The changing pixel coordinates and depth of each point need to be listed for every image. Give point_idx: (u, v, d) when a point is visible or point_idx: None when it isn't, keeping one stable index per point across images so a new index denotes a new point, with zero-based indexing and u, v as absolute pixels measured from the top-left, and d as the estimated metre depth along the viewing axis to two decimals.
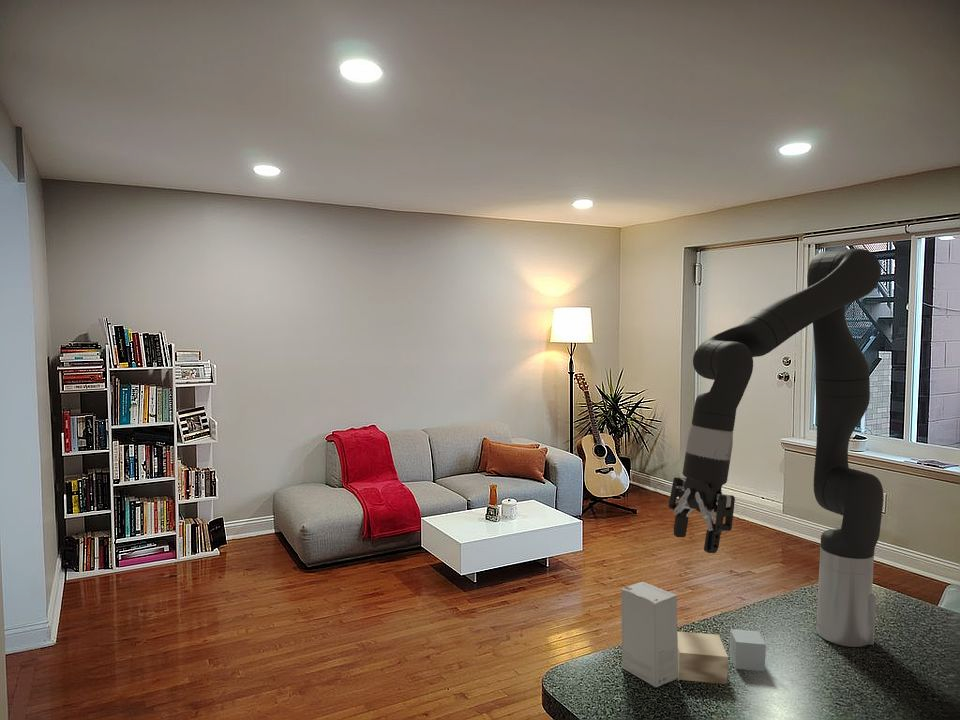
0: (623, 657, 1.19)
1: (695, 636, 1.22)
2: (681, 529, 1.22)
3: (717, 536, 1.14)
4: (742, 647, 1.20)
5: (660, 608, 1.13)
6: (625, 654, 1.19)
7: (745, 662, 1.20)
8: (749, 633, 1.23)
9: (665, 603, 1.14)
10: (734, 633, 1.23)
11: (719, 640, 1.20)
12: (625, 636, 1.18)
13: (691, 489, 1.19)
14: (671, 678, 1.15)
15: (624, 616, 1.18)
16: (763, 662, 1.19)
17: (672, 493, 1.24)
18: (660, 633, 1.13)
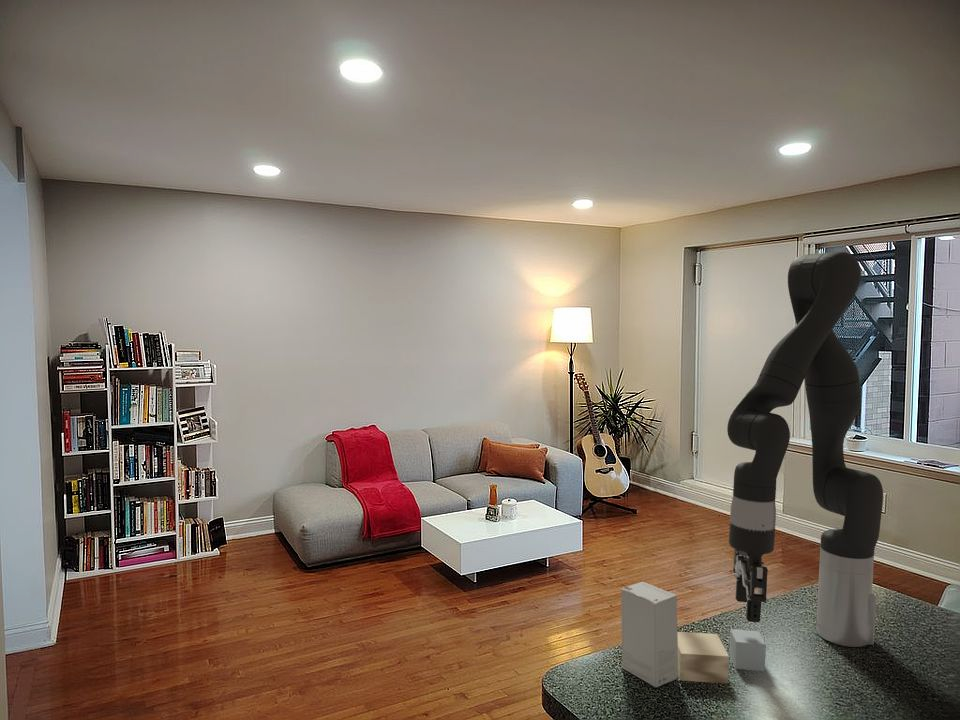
0: (623, 657, 1.19)
1: (694, 636, 1.22)
2: (742, 594, 1.25)
3: (756, 606, 1.16)
4: (742, 647, 1.20)
5: (660, 608, 1.13)
6: (625, 654, 1.19)
7: (745, 662, 1.20)
8: (749, 633, 1.23)
9: (665, 603, 1.14)
10: (734, 633, 1.23)
11: (718, 639, 1.21)
12: (625, 636, 1.18)
13: (739, 556, 1.22)
14: (671, 678, 1.15)
15: (624, 616, 1.18)
16: (763, 662, 1.19)
17: (734, 557, 1.27)
18: (660, 633, 1.13)
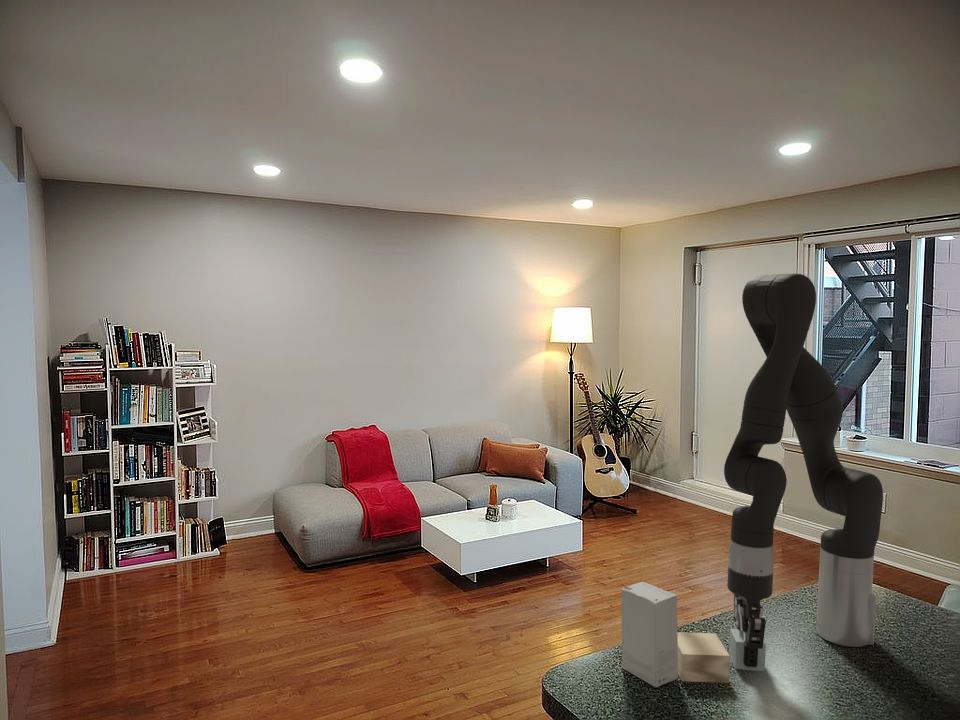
0: (623, 657, 1.19)
1: (693, 636, 1.22)
2: None
3: (753, 651, 1.18)
4: (742, 646, 1.20)
5: (660, 608, 1.13)
6: (625, 654, 1.19)
7: None
8: None
9: (665, 603, 1.14)
10: (734, 632, 1.23)
11: (717, 639, 1.21)
12: (625, 636, 1.18)
13: (738, 599, 1.23)
14: (671, 678, 1.15)
15: (624, 616, 1.18)
16: (763, 662, 1.19)
17: (734, 605, 1.27)
18: (660, 633, 1.13)
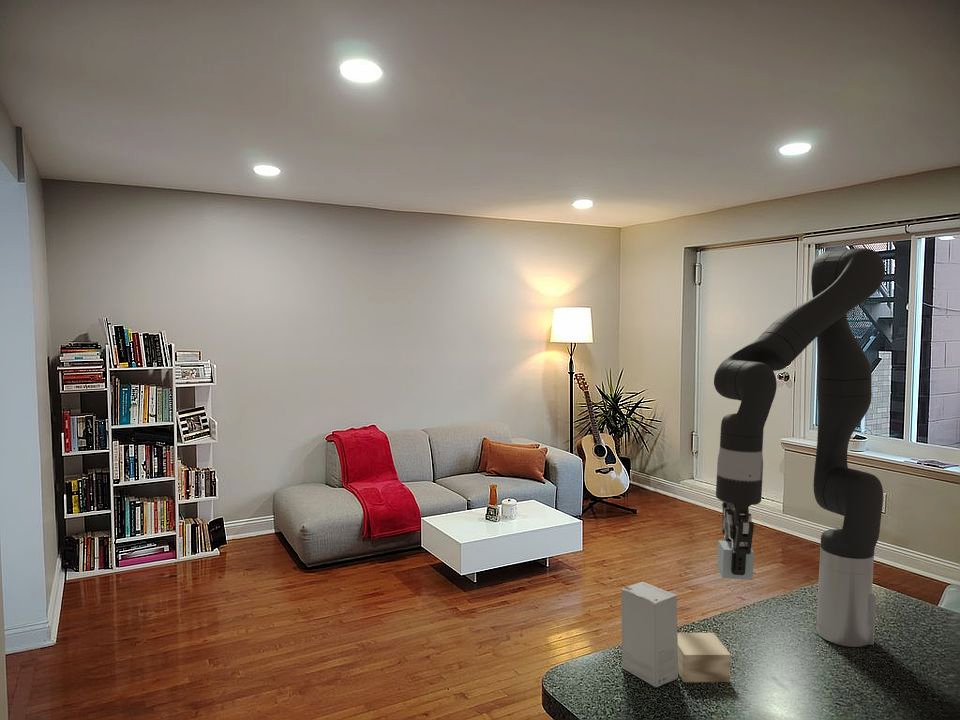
0: (623, 657, 1.19)
1: (693, 636, 1.22)
2: None
3: (741, 558, 1.16)
4: (730, 554, 1.17)
5: (660, 608, 1.13)
6: (625, 654, 1.19)
7: None
8: None
9: (665, 603, 1.14)
10: (722, 543, 1.21)
11: (716, 638, 1.21)
12: (625, 636, 1.18)
13: (726, 508, 1.21)
14: (671, 678, 1.15)
15: (624, 616, 1.18)
16: (751, 570, 1.17)
17: (723, 518, 1.25)
18: (660, 633, 1.13)
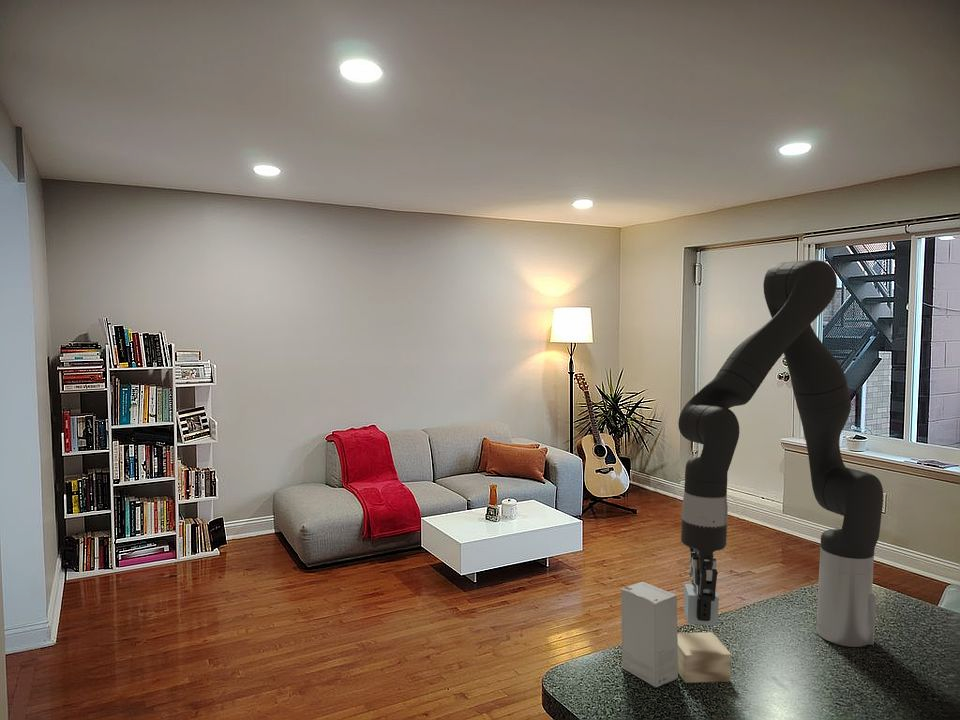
0: (623, 657, 1.19)
1: (692, 636, 1.22)
2: None
3: (706, 605, 1.15)
4: (695, 600, 1.16)
5: (660, 608, 1.13)
6: (625, 654, 1.19)
7: None
8: None
9: (665, 603, 1.14)
10: (687, 587, 1.20)
11: (715, 638, 1.21)
12: (625, 636, 1.18)
13: (692, 552, 1.19)
14: (671, 678, 1.15)
15: (624, 616, 1.18)
16: (716, 616, 1.16)
17: None
18: (660, 633, 1.13)
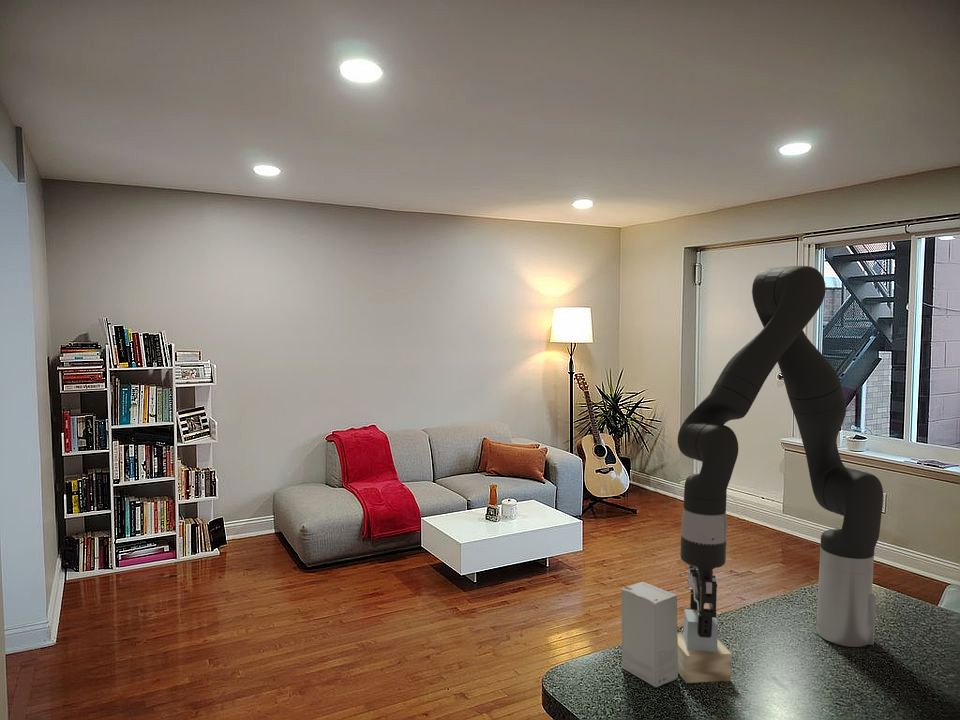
0: (623, 657, 1.19)
1: None
2: (697, 607, 1.23)
3: (707, 621, 1.14)
4: (694, 626, 1.17)
5: (660, 608, 1.13)
6: (625, 654, 1.19)
7: (697, 642, 1.17)
8: None
9: (665, 603, 1.14)
10: (687, 613, 1.20)
11: None
12: (625, 636, 1.18)
13: (692, 570, 1.19)
14: (671, 678, 1.15)
15: (624, 616, 1.18)
16: (715, 642, 1.16)
17: None
18: (660, 633, 1.13)
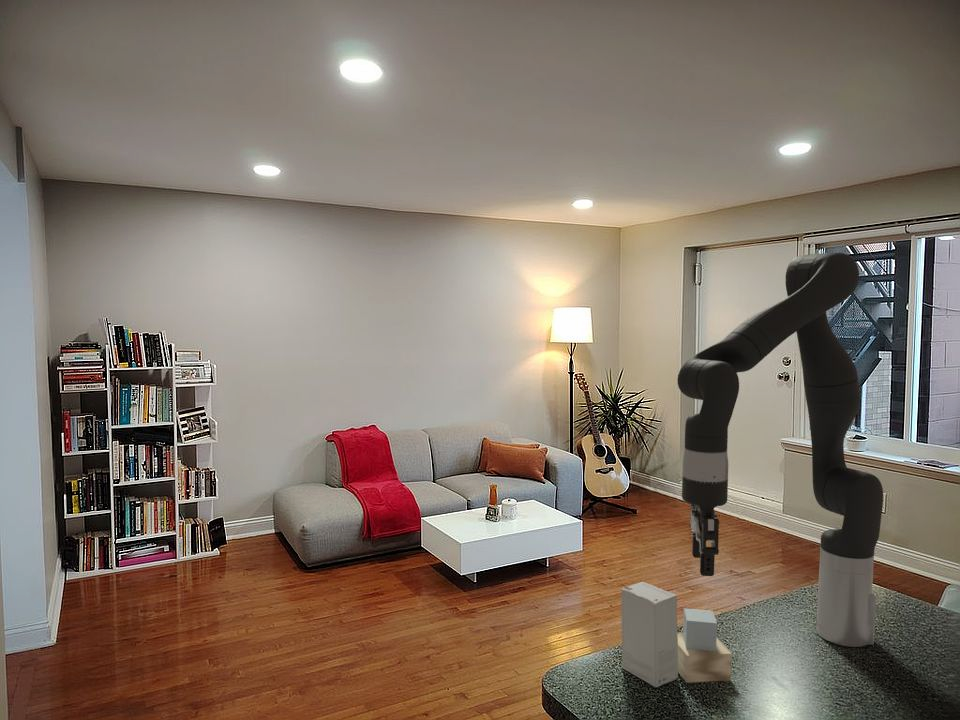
0: (623, 657, 1.19)
1: None
2: (699, 550, 1.22)
3: (709, 559, 1.13)
4: (693, 625, 1.17)
5: (660, 608, 1.13)
6: (625, 654, 1.19)
7: (696, 641, 1.17)
8: (702, 613, 1.20)
9: (665, 603, 1.14)
10: (686, 612, 1.20)
11: None
12: (625, 636, 1.18)
13: (693, 510, 1.19)
14: (671, 678, 1.15)
15: (624, 616, 1.18)
16: (714, 641, 1.16)
17: None
18: (660, 633, 1.13)
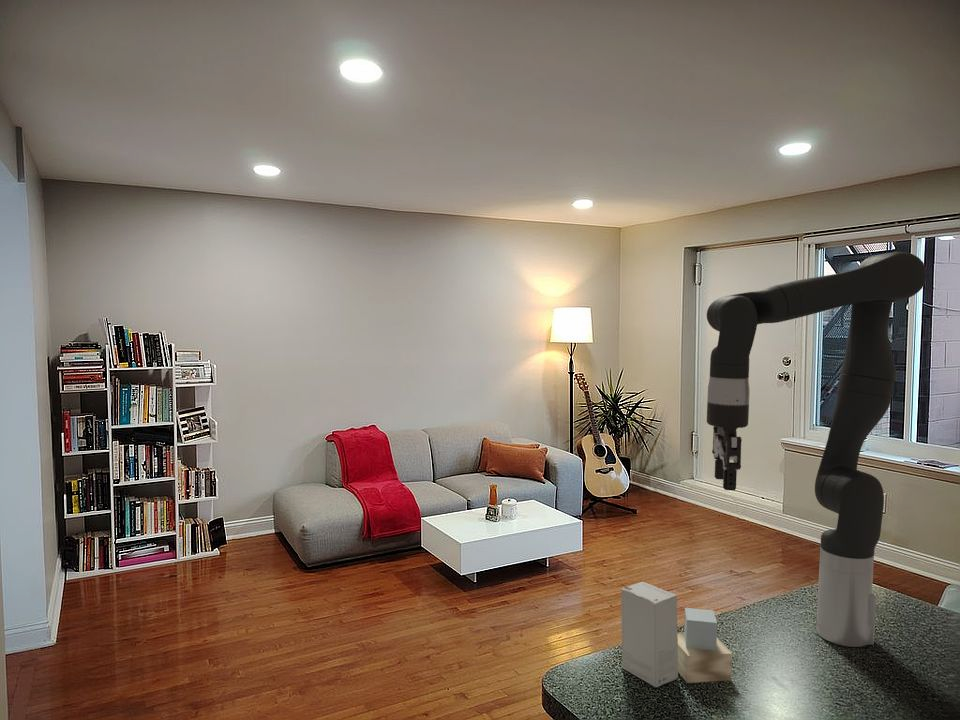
0: (623, 657, 1.19)
1: None
2: (721, 472, 1.34)
3: (732, 474, 1.25)
4: (693, 625, 1.17)
5: (660, 608, 1.13)
6: (625, 654, 1.19)
7: (697, 641, 1.17)
8: (703, 612, 1.20)
9: (665, 603, 1.14)
10: (687, 611, 1.21)
11: None
12: (625, 636, 1.18)
13: (717, 434, 1.31)
14: (671, 678, 1.15)
15: (624, 616, 1.18)
16: (714, 641, 1.16)
17: (713, 440, 1.36)
18: (660, 633, 1.13)
